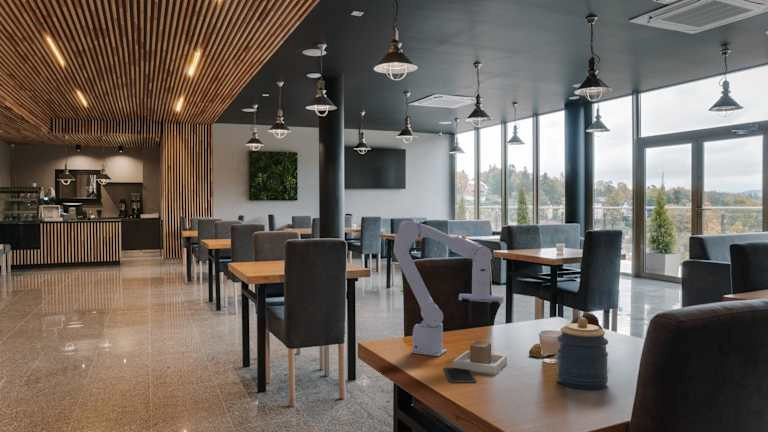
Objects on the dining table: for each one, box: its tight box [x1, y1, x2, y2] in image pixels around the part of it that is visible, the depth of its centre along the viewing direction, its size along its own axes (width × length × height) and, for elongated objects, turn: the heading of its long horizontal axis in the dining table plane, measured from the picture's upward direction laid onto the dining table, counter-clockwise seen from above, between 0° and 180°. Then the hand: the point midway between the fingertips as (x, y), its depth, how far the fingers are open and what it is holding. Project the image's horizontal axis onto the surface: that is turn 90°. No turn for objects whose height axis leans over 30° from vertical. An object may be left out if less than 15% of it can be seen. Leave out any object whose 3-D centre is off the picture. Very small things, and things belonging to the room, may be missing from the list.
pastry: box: [528, 342, 542, 359], centre depth 178 cm, size 9×7×4 cm
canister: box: [556, 318, 609, 391], centre depth 149 cm, size 13×13×18 cm
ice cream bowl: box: [570, 312, 606, 337], centre depth 170 cm, size 11×11×15 cm
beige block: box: [469, 340, 492, 365], centre depth 164 cm, size 4×6×6 cm
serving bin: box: [452, 350, 508, 376], centre depth 164 cm, size 13×13×2 cm
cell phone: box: [443, 366, 477, 384], centre depth 155 cm, size 7×14×1 cm, turn 2°
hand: (480, 323), depth 180 cm, fingers open, 7 cm apart
